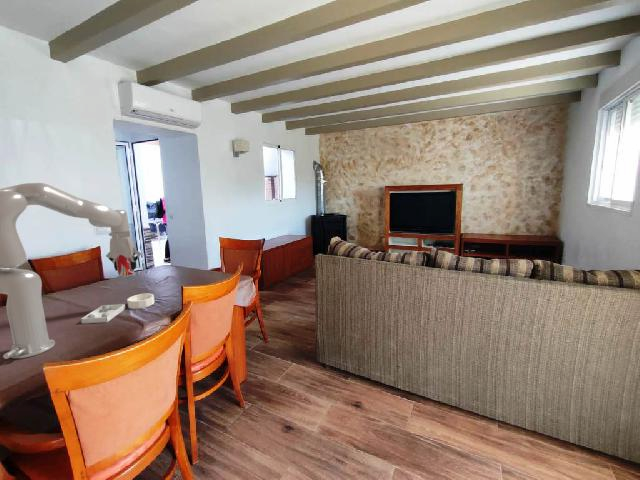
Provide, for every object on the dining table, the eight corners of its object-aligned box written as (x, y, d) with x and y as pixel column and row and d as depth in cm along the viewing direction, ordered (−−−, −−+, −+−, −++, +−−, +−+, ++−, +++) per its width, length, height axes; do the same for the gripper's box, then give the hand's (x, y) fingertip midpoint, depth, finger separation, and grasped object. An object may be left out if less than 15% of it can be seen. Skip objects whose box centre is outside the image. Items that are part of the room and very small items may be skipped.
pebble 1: (93, 321, 138) (92, 315, 137) (86, 322, 137) (85, 315, 137) (97, 318, 141) (96, 312, 140) (90, 319, 140) (89, 313, 140)
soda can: (126, 277, 147) (123, 254, 145) (114, 277, 149) (111, 253, 146) (138, 273, 154) (135, 251, 152) (126, 273, 155) (123, 250, 153)
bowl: (148, 308, 153) (147, 300, 152) (123, 309, 152) (122, 302, 151) (157, 299, 165) (157, 292, 164) (135, 301, 163) (134, 294, 163)
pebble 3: (107, 320, 139) (106, 313, 138) (100, 320, 138) (99, 314, 138) (111, 317, 142) (110, 311, 141) (104, 317, 141) (103, 311, 141)
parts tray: (107, 322, 137) (106, 317, 137) (81, 324, 136) (80, 318, 135) (125, 308, 153) (125, 304, 152) (102, 310, 151) (101, 305, 151)
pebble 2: (108, 312, 148) (107, 306, 148) (101, 312, 148) (100, 306, 148) (111, 309, 151) (110, 304, 151) (105, 310, 151) (104, 304, 151)
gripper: (97, 237, 143) (103, 272, 146) (136, 235, 145) (140, 270, 148) (106, 234, 150) (111, 268, 153) (143, 233, 152) (147, 266, 155)
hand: (125, 269), depth 151 cm, fingers closed on soda can, 7 cm apart
